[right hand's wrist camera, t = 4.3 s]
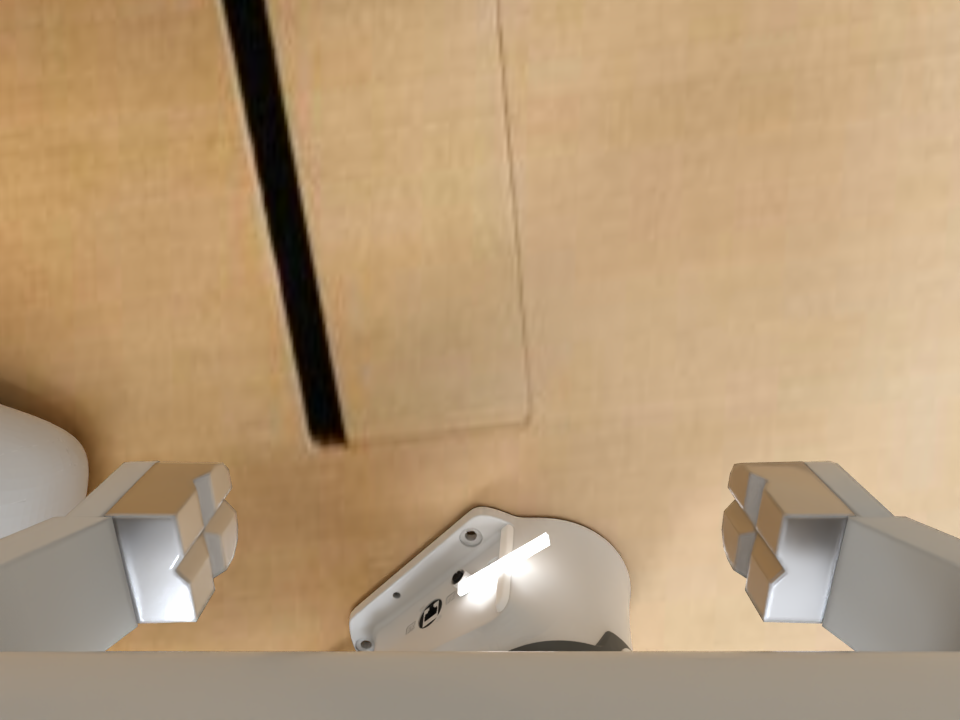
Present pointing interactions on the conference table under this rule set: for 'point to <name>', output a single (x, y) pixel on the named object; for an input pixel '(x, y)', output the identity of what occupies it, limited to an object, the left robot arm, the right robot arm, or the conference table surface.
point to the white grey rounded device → (37, 471)
